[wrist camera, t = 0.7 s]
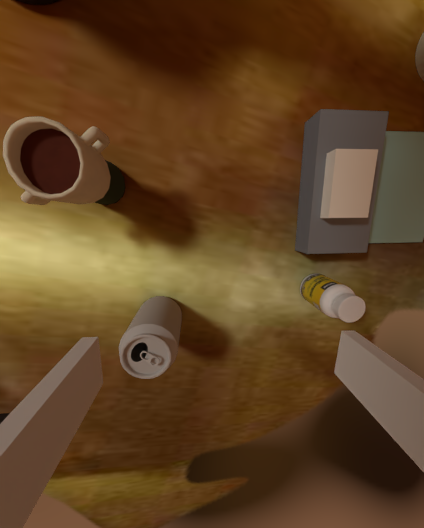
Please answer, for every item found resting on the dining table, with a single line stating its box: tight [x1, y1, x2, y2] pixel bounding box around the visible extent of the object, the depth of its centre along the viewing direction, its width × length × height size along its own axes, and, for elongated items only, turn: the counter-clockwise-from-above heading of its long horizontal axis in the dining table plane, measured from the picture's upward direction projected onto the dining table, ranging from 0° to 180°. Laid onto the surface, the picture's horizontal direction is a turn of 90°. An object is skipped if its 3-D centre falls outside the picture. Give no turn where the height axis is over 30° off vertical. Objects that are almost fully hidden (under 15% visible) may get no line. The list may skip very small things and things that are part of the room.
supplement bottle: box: [300, 274, 365, 322], centre depth 33 cm, size 5×5×10 cm
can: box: [119, 296, 182, 379], centre depth 30 cm, size 8×8×12 cm
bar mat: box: [368, 131, 424, 243], centre depth 35 cm, size 18×14×1 cm
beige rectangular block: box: [320, 149, 378, 218], centre depth 29 cm, size 9×6×2 cm, turn 1°
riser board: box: [295, 109, 389, 254], centre depth 32 cm, size 20×10×4 cm, turn 1°
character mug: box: [3, 117, 125, 205], centre depth 25 cm, size 11×7×13 cm, turn 130°
